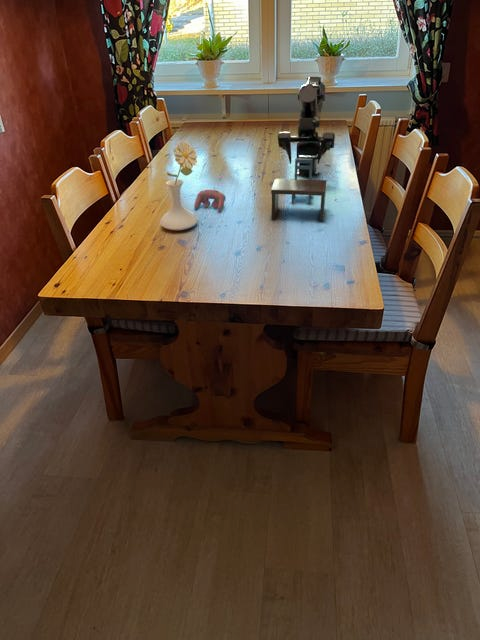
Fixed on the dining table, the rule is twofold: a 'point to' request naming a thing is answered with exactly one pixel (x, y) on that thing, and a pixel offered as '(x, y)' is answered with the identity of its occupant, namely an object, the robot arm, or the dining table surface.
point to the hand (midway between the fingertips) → (304, 163)
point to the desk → (298, 191)
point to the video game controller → (210, 194)
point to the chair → (303, 168)
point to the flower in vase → (178, 214)
